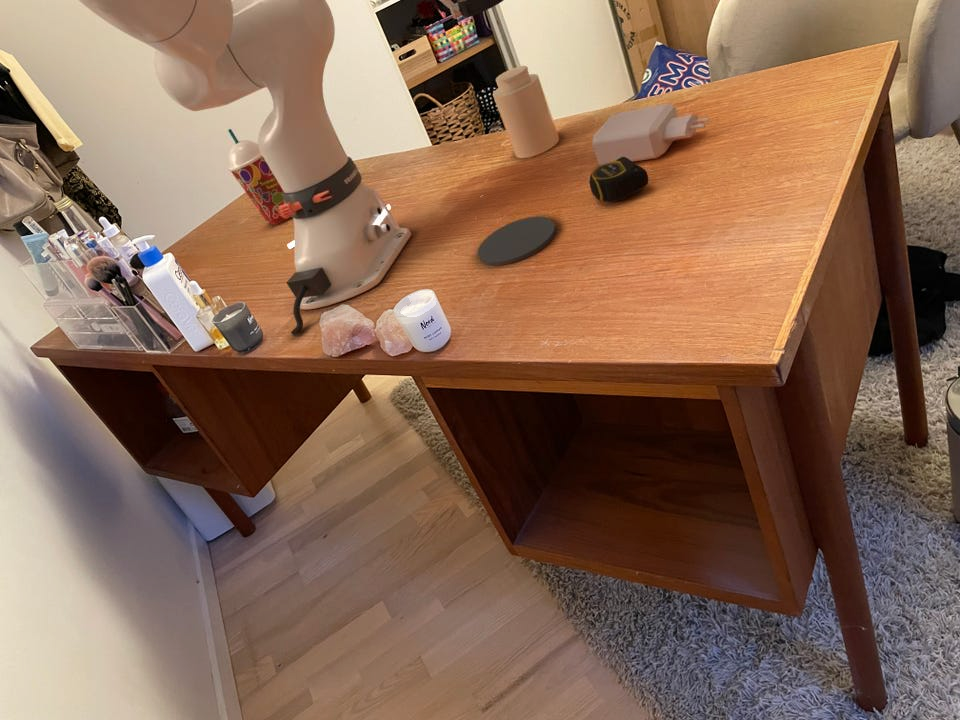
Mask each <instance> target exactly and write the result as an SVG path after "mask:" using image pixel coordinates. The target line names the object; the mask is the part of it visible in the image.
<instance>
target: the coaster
mask: <svg viewBox="0 0 960 720" xmlns="http://www.w3.org/2000/svg"><path fill="white" fill-rule="evenodd" d="M556 232H557V226H556V224H555V222H554V220H553V219H551V218H549V217H547V216H529V217H524V218H520V219H518V220H515V221H512V222H509V223H508V224H505V225H503V226H501V227H499V228H498V229H496V230H495V231H493V232H492V233H490V234H489V235H488V236H487V237H486V238H485V239H484V240H483V241H482V242H481V243H480V245H479V247H478V250H477V255H478V258H479V261H480V262H482V263H483V264H485V265H488V266H504V265H509V264H515V263H516V262H520V261H522V260H525V259H527V258H529V257H531V256H533V255H534V254H536V253H538V252H539V251H541V250H543V249H544V248H545V247H546V246H548V244H549V243H550V242H551V241H552V240H553V238H554V237H555V235H556Z"/></svg>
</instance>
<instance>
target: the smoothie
mask: <svg viewBox="0 0 960 720" xmlns="http://www.w3.org/2000/svg"><path fill="white" fill-rule="evenodd" d="M227 132H228V133H229V135H230V136H231V138H232V140H233V141H234V144H233V145H232V146H231V147H230V149H229V151H228V154H227V164H228V171H230V172H231V174H232V175H233V177H234V178H235V179H236V181H237V183H239V185H240V187H241V188H242V189H243V190H244V192H245V193H246V195H247V196H248V198H249V199H250V200H251V202H252V203H253V205H254V206H255V208H256V209H257V210H258V212H259V213H260V214H261V216H262V217H263V219H264V220H265V221H266V222H268V223H270V224H271V225H272V226H275V225H280V224H282V223H284V222H286V221H288V220H289V219H291V218H292V217H291V216H290V217H288V218H286V219H285V218H284V217H282V215H280V214H281V213H279V211H280V210H279V206H280V205H283V204H285V200H284V197H283V194H282V191H283V190H282V188H281V186H280V184H279V183H278V181H277V179H276V178H275V176H274V174H273V173H272V171H271V169H270V168H269V166H268V164H267V163H266V161H265V159H264V158H263V156H262V154H261V153H260V150H259V146H258V142H255V141H252V140H247V139H244V140H239V139H238V138H237V136H236V135H235V133H234V132H233V130H232V128H229V129H228V130H227Z"/></svg>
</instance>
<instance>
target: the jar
mask: <svg viewBox="0 0 960 720" xmlns="http://www.w3.org/2000/svg"><path fill="white" fill-rule="evenodd" d="M495 82H496V85H497V87H498V88H496V89H495V90H494V91H493V92H492V96H493V100H494V102H495V105H496V108H497V110H498V113H499V115H500V118H501V120H502V124H503V126H504V129H505V131H506V134H507V136H508V139H509V142H510V144H511V147H512V150H513V153H514V156H515V157H516V158H517V159H529V158H532V157H533V158H534V157H535V156H539V155H541V154H543V153H546V152H547V151H549V150H550V149H553V148H554V147H555V146H556V145H557V144H558V143H559V141H560V136H559V134H558V133H559V132H558V130H557V128H556V124H555V122H554V118H553V116H552V113H551V110H550V106H549V103H548V100H547V98H546V94H545V92H544V89H543V86H542V82H541V79H540V77H539V75H538V74H536V73H531V74H530V72H529V68H528V66H527V65H520V66H516V67H513V68H511V69H508V70H506V71H504V72H502V73H501V74H499V75H498V76H497V77H496V78H495Z"/></svg>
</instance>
